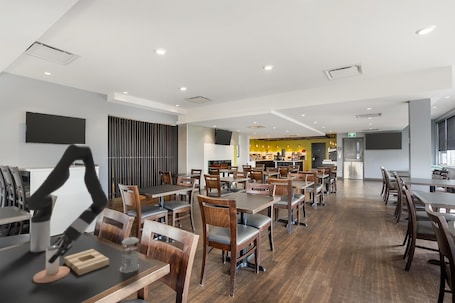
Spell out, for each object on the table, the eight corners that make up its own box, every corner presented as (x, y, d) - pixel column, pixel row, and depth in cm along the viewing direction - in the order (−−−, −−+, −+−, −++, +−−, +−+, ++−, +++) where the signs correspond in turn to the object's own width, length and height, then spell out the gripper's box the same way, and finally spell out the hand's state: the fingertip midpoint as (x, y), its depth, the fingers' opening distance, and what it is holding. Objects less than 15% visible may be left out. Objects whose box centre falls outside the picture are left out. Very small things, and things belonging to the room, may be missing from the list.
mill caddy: (64, 262, 125) (64, 257, 125) (92, 254, 136) (92, 248, 136) (79, 275, 112) (79, 268, 112) (108, 264, 123) (109, 258, 123)
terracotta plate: (29, 276, 111) (29, 274, 111) (64, 265, 122) (64, 263, 122) (37, 286, 102) (37, 284, 102) (74, 274, 113) (74, 272, 113)
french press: (127, 274, 113) (128, 222, 113) (113, 268, 119) (113, 218, 119) (144, 266, 121) (144, 217, 121) (130, 260, 127) (130, 214, 128)
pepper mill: (44, 272, 112) (44, 247, 112) (57, 268, 116) (57, 243, 116) (47, 276, 109) (47, 250, 109) (60, 271, 113) (61, 246, 113)
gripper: (65, 222, 123) (36, 253, 113) (76, 228, 114) (45, 261, 104) (77, 230, 127) (49, 260, 117) (88, 236, 118) (59, 269, 108)
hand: (48, 260), depth 111 cm, fingers open, 5 cm apart
